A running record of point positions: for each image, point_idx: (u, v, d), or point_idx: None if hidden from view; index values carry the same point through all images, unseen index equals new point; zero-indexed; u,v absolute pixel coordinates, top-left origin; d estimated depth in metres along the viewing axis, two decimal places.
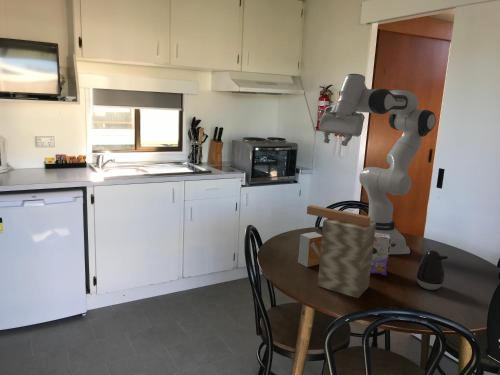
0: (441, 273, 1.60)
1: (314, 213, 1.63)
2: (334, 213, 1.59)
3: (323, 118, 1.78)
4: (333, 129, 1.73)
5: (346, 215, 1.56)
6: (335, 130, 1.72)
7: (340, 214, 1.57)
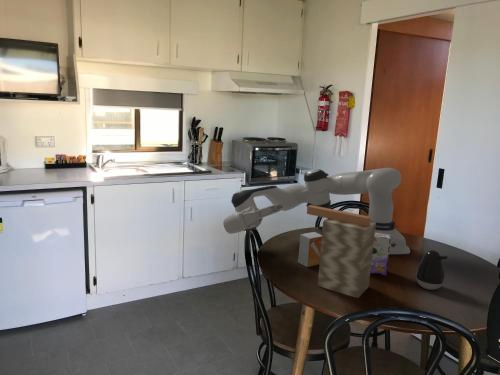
0: (441, 273, 1.60)
1: (314, 213, 1.63)
2: (334, 213, 1.59)
3: (246, 213, 1.77)
4: (263, 208, 1.80)
5: (346, 215, 1.56)
6: None
7: (340, 214, 1.57)
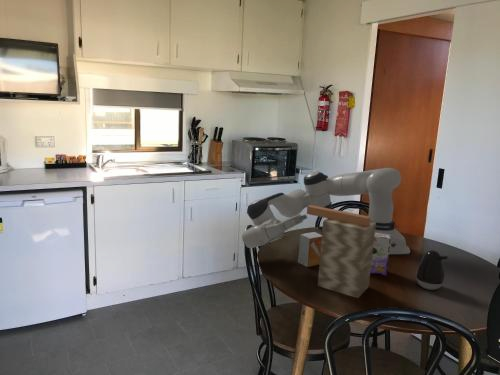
0: (441, 273, 1.60)
1: (314, 213, 1.63)
2: (334, 213, 1.59)
3: (269, 226, 1.67)
4: (286, 220, 1.70)
5: (346, 215, 1.56)
6: (288, 219, 1.71)
7: (340, 214, 1.57)
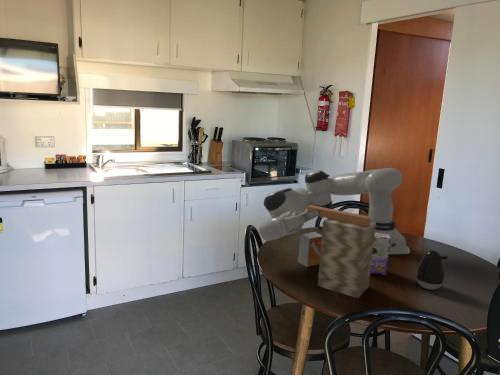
0: (441, 273, 1.60)
1: None
2: (334, 213, 1.59)
3: (288, 217, 1.62)
4: (305, 211, 1.65)
5: (346, 215, 1.56)
6: None
7: (340, 214, 1.57)
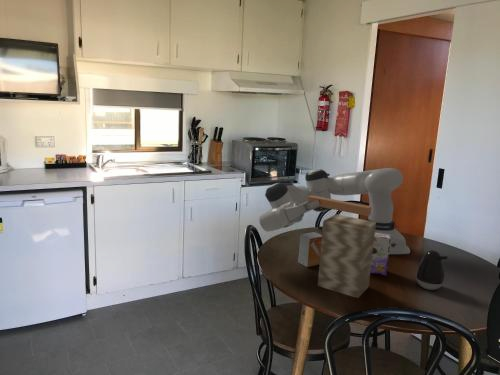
0: (441, 273, 1.60)
1: None
2: (335, 203, 1.58)
3: None
4: (306, 201, 1.64)
5: (347, 205, 1.55)
6: None
7: (341, 204, 1.56)
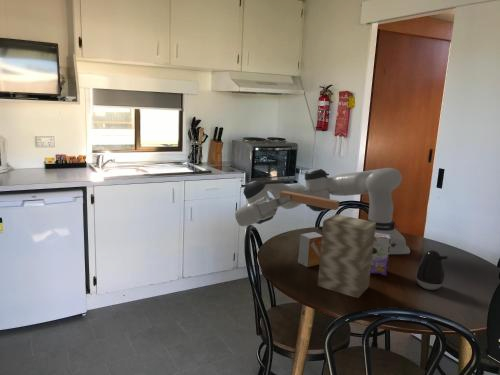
0: (441, 273, 1.60)
1: None
2: (305, 198, 1.64)
3: None
4: (278, 197, 1.70)
5: (316, 199, 1.61)
6: None
7: (310, 199, 1.62)
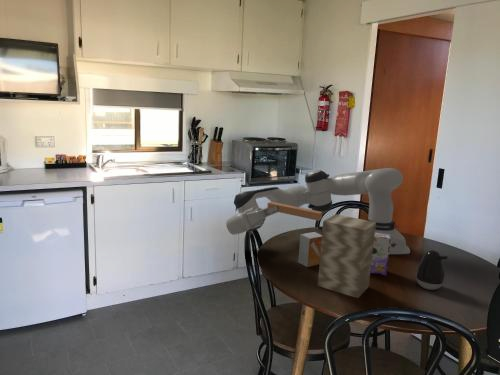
0: (441, 273, 1.60)
1: None
2: (291, 209, 1.75)
3: None
4: None
5: (301, 210, 1.72)
6: None
7: (296, 210, 1.74)
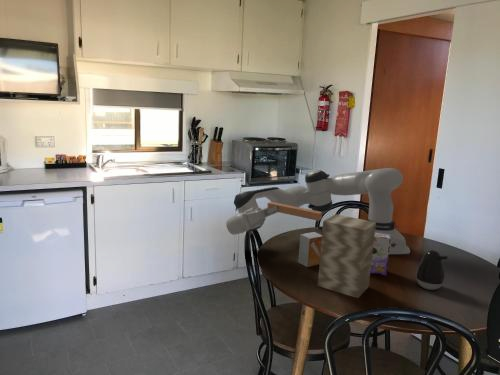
0: (441, 273, 1.60)
1: None
2: (290, 209, 1.75)
3: None
4: None
5: (301, 211, 1.72)
6: None
7: (296, 210, 1.74)
